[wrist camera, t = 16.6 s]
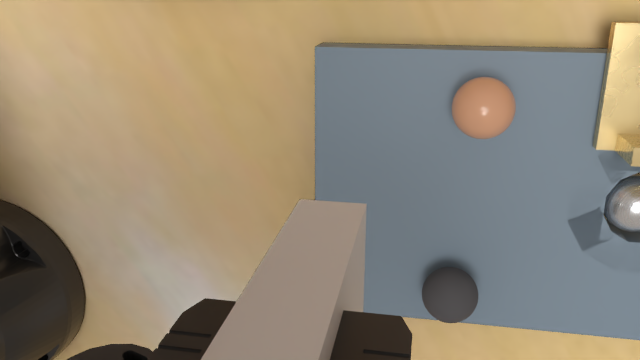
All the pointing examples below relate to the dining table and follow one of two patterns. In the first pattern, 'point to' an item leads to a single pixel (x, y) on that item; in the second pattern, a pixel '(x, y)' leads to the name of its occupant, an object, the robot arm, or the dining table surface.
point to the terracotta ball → (483, 107)
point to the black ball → (450, 294)
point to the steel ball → (624, 204)
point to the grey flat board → (479, 183)
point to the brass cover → (621, 95)
